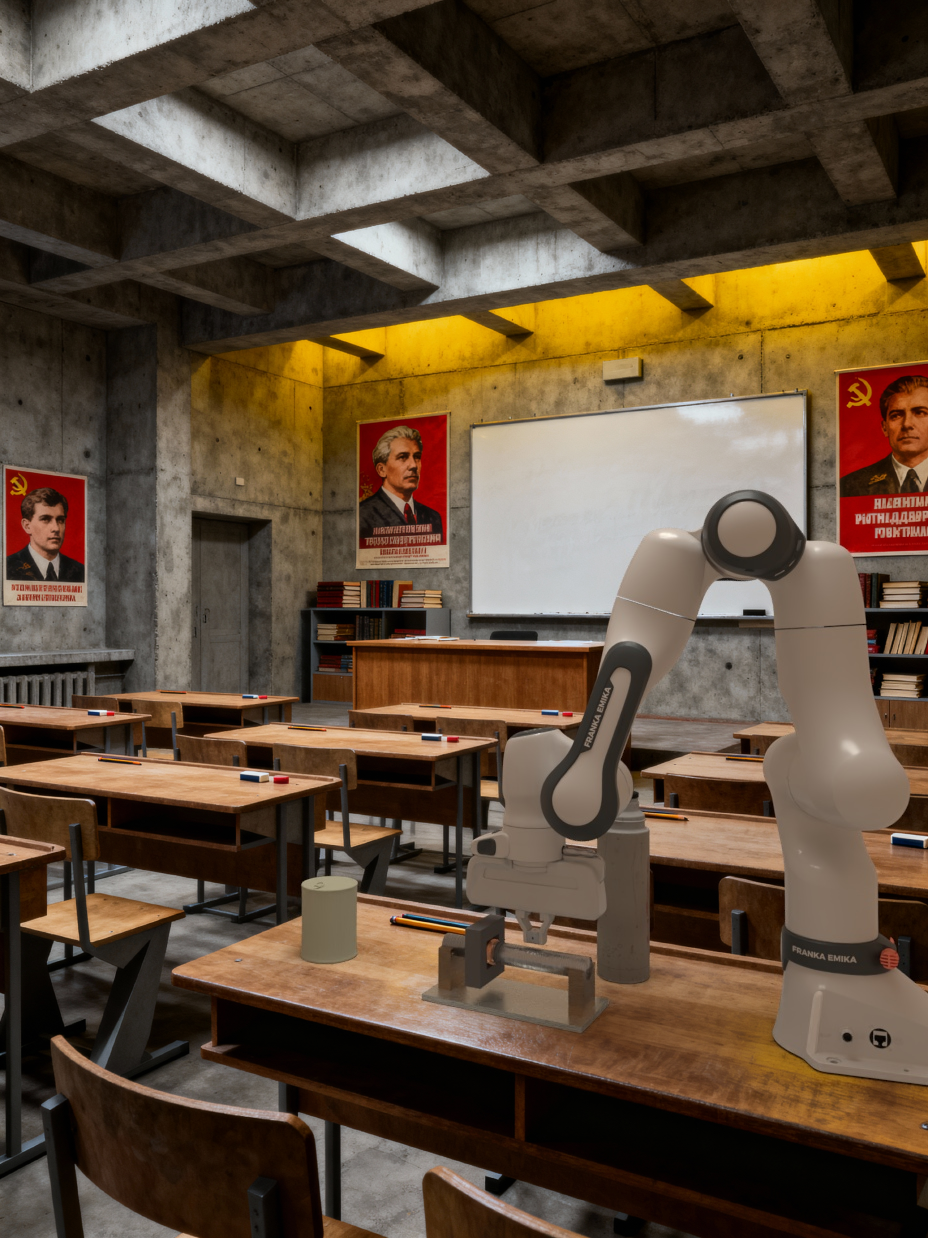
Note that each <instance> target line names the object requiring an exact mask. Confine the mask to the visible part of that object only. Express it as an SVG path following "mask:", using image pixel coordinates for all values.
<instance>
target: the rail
mask: <svg viewBox="0 0 928 1238" xmlns="http://www.w3.org/2000/svg"><path fill="white" fill-rule="evenodd" d="M437 949H438V954H437V956H438V960H437V961H438V969H437V971H438V972H437V974H438V975H437V976H438V977H437V978H438V980H437V983H436V984H435V985H433V986H431V987H429V988H428V989H427V990H425V991H423V992H422V993H421V1001H426V1002H431V1003H436V1004H441V1005H446V1006H450V1007H454V1008H459V1009H465V1010H469V1011H474V1012H477V1013H483V1014H487V1015H493V1016H497V1017H501V1018H506V1019H511V1020H515V1021H519V1022H520V1021H522V1022H525V1023H530V1024H534V1025H538V1026H543V1027H549V1028H554V1029H559V1030H563V1031H567V1032H573V1033H576V1034H577V1033H578V1034H583V1032H584V1031H586V1029H588V1027H590V1025H591V1024H592V1023H593V1022H594V1021H595V1020H596V1019H597V1018H598V1017H599V1016H600V1015H601V1014H602V1012H604V1011H605V1009H606V1008H608V1006H609V1005H610V998H607V997H603V996H596V962H595V961H593V959H592V957H591V956H586V955H580V954H574V953H569V952H563V951H558V950H551V949H545V948H539V947H534V946H528V945H522V944H516V943H510V942H506V941H505V942H499V940H498V939H493V938H491V939H490V940H488V941H487V964H491V965H495V964H501V965H505V966H509V967H512V968H513V967H514V968H517V969H518V968H519V969H523V970H531V971H535V972H541V973H546V974H551V975H556V976H563V977H568V978H567V981H568V984H567V988H568V989H567V990H565V989H560V988H555V987H549V986H543V985H538V984H534V983H528V982H523V981H518V980H513V979H507V978H501V977H498V976H497V977H496V978H495V979H493V980H492V981H491V982H489V983H488V984H486V985H485V986H484V987H482V988H481V989H477V988H472V987H467V986H465V934H464V935H462V934H457V933H452V932H447V933H445V934H444V936H443V938H442V942H441V946H439V947H438V948H437Z"/></svg>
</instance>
